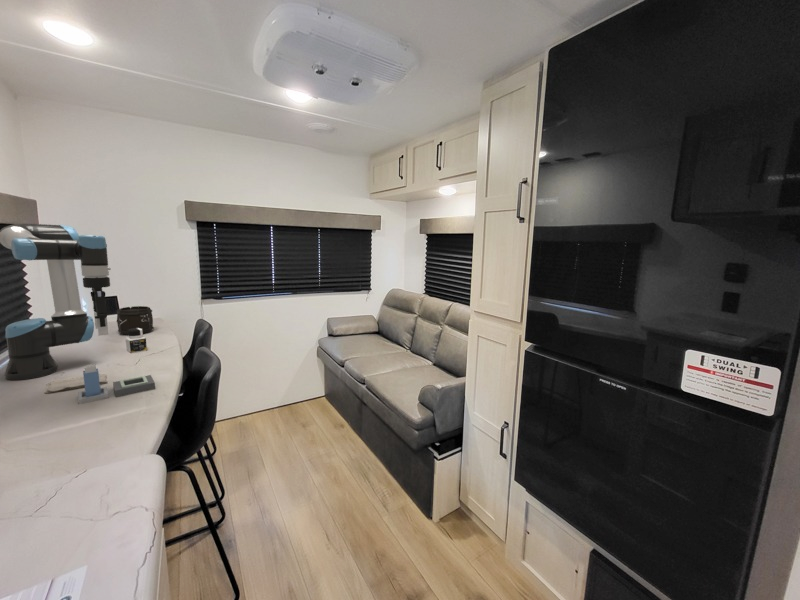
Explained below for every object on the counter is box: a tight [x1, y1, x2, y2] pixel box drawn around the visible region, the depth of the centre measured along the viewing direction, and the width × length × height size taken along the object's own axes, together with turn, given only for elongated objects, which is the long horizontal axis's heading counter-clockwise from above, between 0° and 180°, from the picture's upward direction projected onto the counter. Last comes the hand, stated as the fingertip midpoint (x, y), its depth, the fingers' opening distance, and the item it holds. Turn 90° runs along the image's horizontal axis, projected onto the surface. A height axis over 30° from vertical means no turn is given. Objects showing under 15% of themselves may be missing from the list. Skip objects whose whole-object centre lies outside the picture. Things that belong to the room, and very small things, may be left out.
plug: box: [82, 363, 101, 397], centre depth 122 cm, size 4×4×12 cm
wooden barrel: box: [116, 305, 154, 337], centre depth 209 cm, size 18×18×16 cm
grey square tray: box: [77, 386, 110, 405], centre depth 123 cm, size 8×8×2 cm
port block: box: [112, 374, 156, 398], centre depth 131 cm, size 12×10×4 cm
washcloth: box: [44, 373, 109, 395], centre depth 132 cm, size 12×18×3 cm, turn 133°
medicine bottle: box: [125, 328, 148, 354], centre depth 176 cm, size 7×7×12 cm
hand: (101, 331), depth 127 cm, fingers open, 13 cm apart
